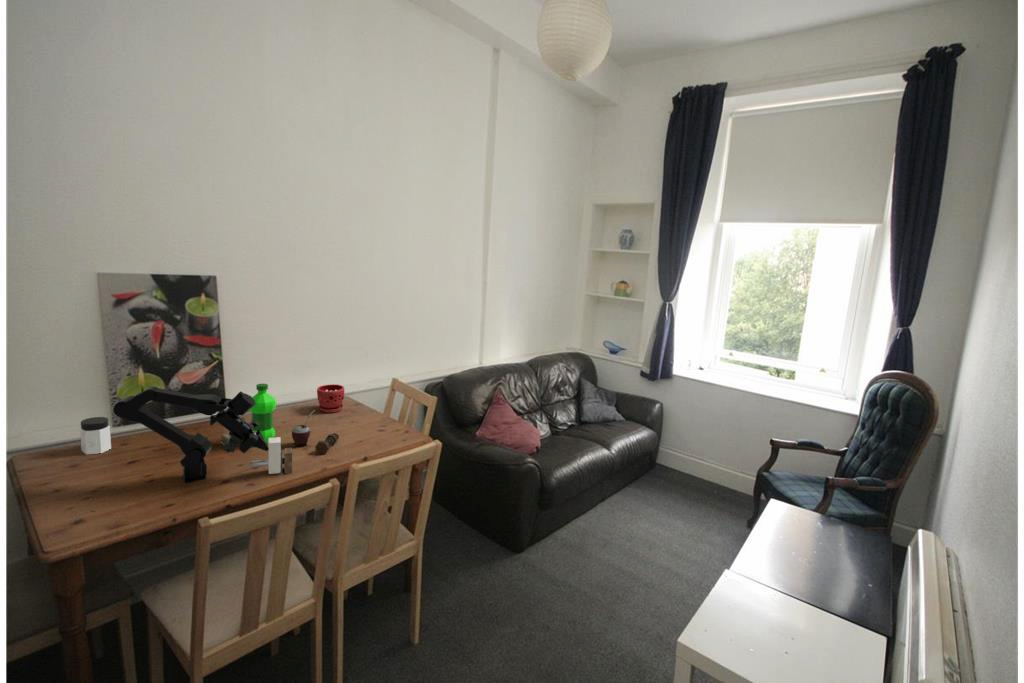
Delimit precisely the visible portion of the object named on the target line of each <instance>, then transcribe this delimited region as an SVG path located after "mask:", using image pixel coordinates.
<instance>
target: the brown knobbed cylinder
mask: <svg viewBox="0 0 1024 683" xmlns="http://www.w3.org/2000/svg"><path fill="white" fill-rule="evenodd" d="M339 438H340V436H339V434H338V433H328V435H327V436H326V438H325V440H319V441H318V442H317V443H316V445H315V447H314V449H315V451H316V452H317V453H318V454H319V453H320V454H321V455H326V454H327V453H328V451H329V450H330V449H331V446H335V445H334V444H337V443H338V440H339Z"/></svg>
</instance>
